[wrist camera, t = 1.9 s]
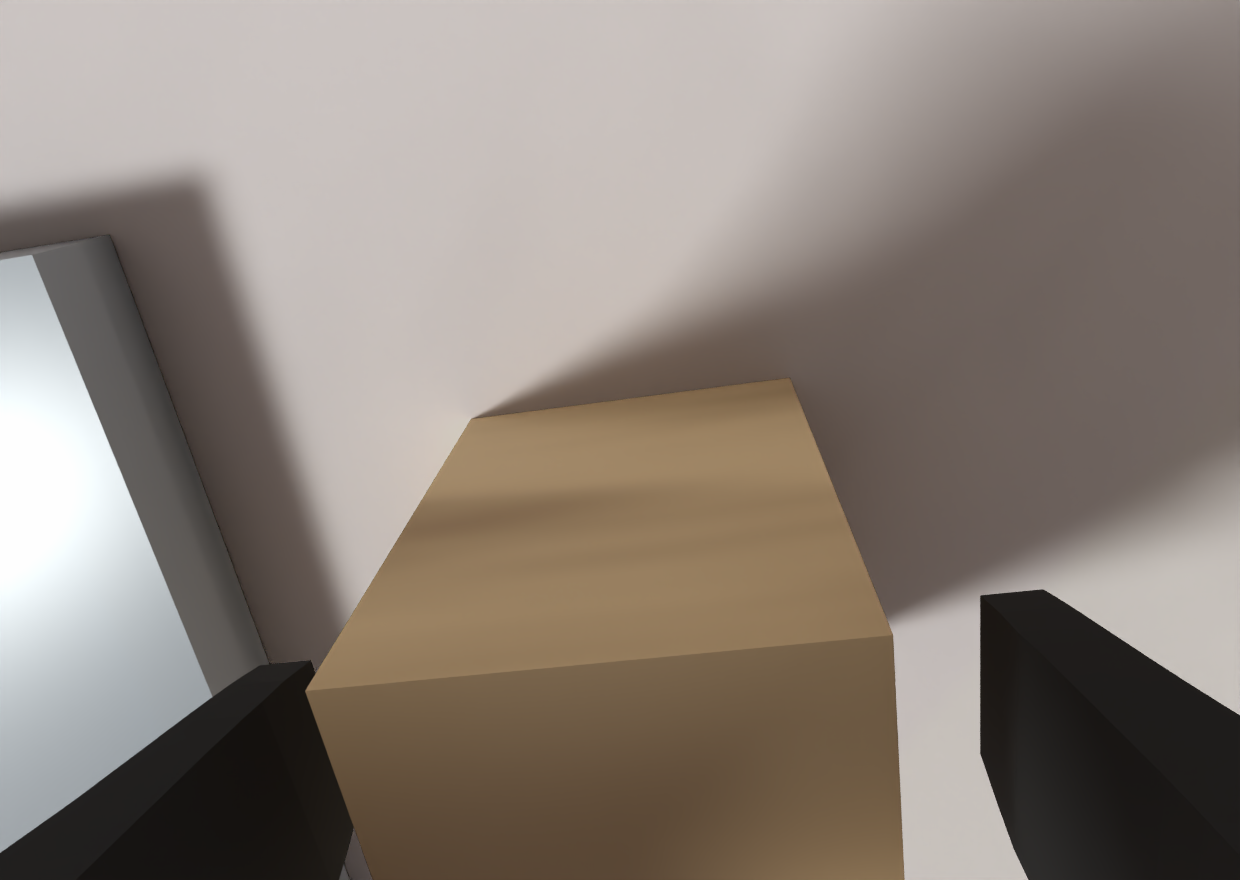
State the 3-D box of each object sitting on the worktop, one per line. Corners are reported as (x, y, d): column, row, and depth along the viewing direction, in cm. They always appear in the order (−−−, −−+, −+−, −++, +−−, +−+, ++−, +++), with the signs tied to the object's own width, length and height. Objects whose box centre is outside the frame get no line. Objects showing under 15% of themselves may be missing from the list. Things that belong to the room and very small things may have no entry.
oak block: (813, 648, 13) (912, 1043, 8) (532, 675, 14) (439, 1064, 8) (789, 377, 12) (892, 634, 6) (471, 418, 12) (304, 690, 7)
